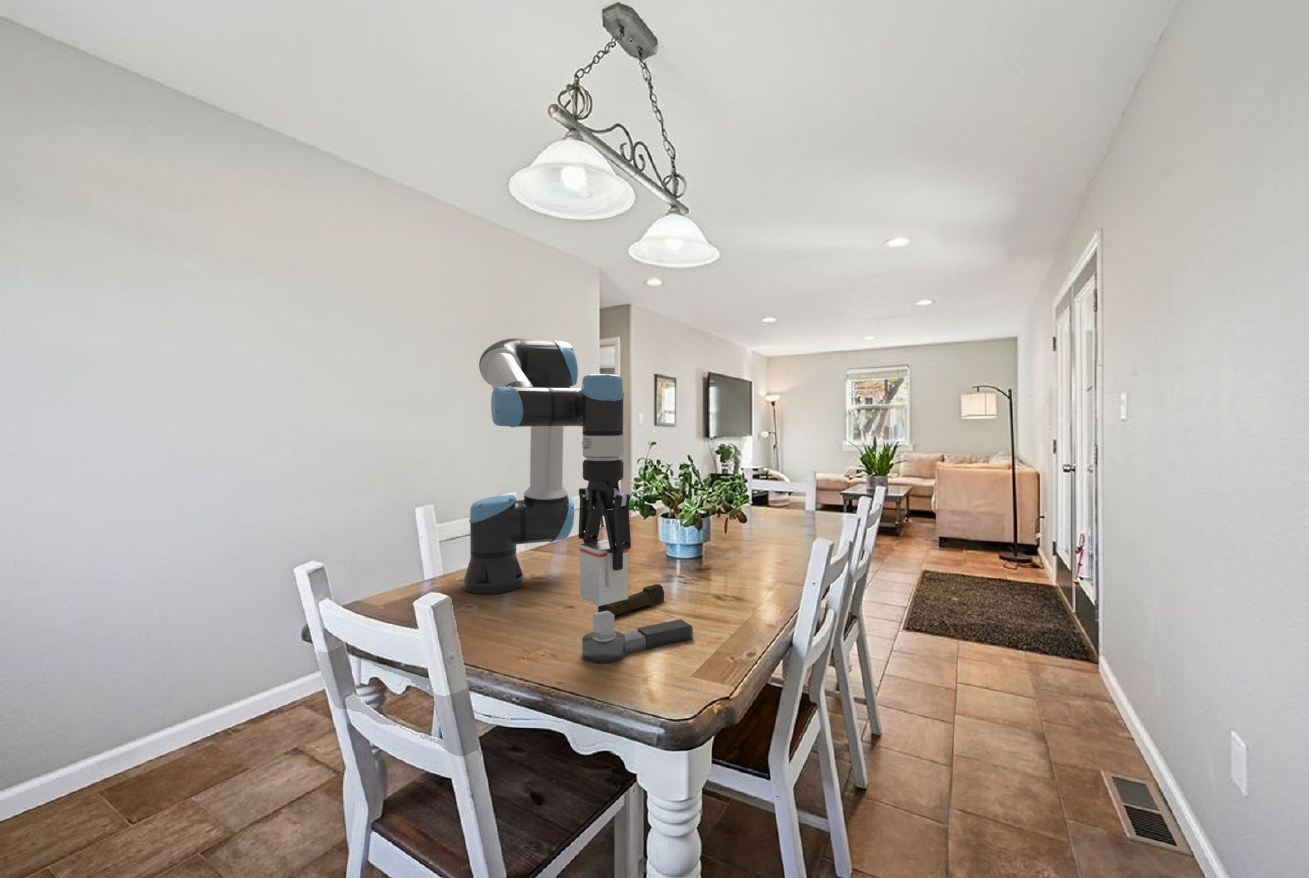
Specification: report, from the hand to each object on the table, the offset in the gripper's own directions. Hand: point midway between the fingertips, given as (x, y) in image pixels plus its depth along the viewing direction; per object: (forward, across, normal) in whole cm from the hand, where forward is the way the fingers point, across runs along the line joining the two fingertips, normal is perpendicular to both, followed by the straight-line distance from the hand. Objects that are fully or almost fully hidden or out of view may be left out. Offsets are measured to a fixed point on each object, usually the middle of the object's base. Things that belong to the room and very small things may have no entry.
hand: (603, 582), depth 103 cm
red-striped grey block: (+3, 0, 0) cm, 3 cm away
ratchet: (+14, +1, +7) cm, 15 cm away
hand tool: (+14, -17, +19) cm, 29 cm away
